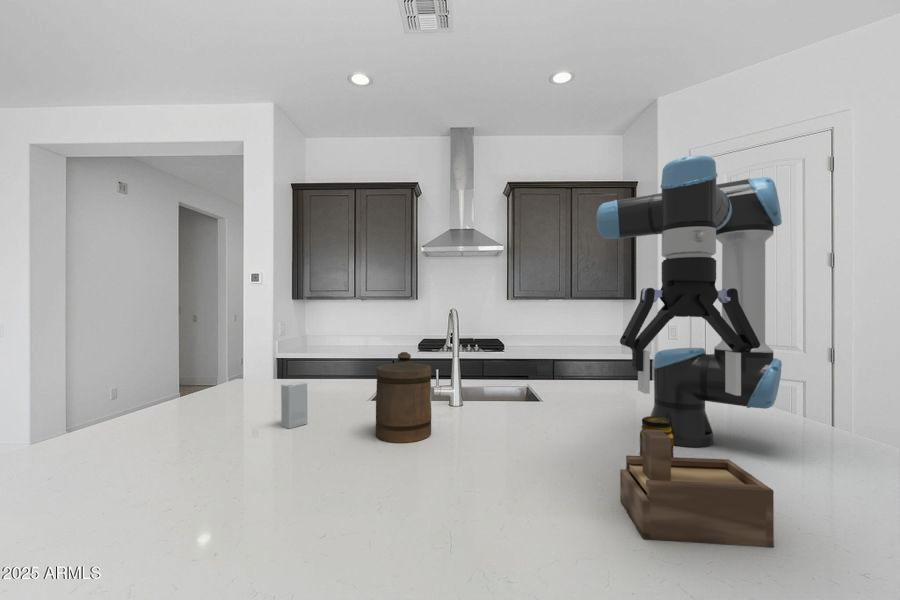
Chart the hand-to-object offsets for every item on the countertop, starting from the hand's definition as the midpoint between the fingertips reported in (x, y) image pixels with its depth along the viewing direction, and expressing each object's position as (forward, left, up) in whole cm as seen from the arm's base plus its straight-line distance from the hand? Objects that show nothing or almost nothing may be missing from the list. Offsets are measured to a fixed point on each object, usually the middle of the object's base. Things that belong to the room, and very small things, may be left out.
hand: (688, 393), depth 66 cm
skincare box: (-45, -88, -21) cm, 101 cm away
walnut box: (-2, +1, -21) cm, 21 cm away
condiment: (-19, +1, -21) cm, 28 cm away
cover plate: (-2, +1, -15) cm, 15 cm away
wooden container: (-41, -55, -21) cm, 72 cm away
